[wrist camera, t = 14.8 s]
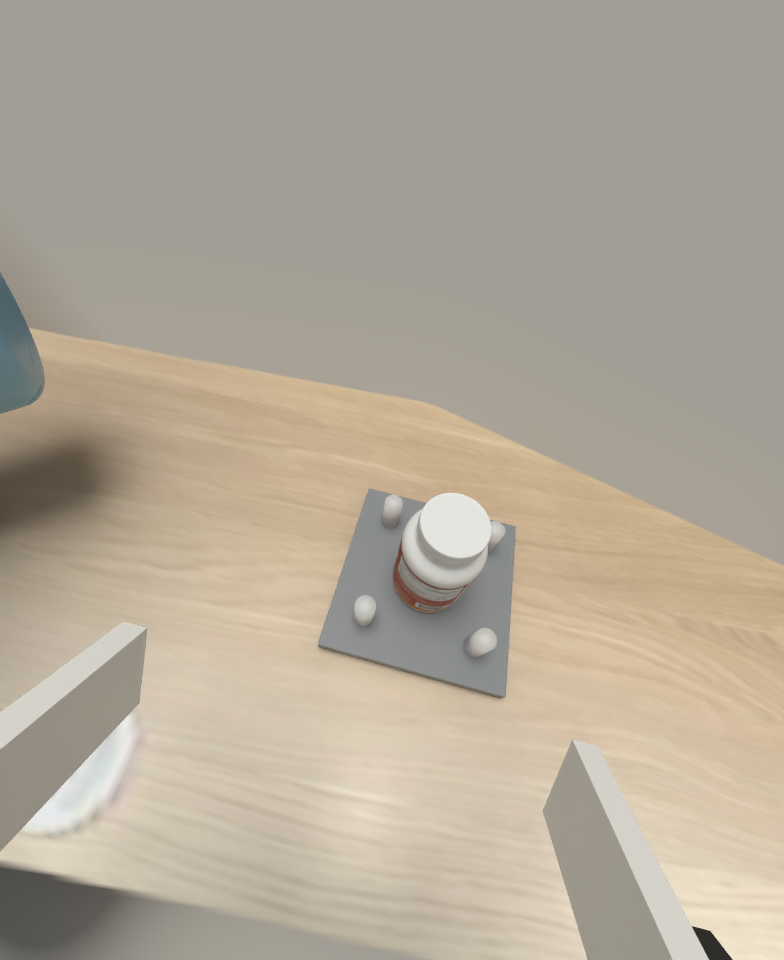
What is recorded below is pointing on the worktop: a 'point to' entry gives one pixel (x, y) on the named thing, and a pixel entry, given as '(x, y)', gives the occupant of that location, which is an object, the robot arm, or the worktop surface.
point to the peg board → (410, 633)
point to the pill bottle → (441, 552)
